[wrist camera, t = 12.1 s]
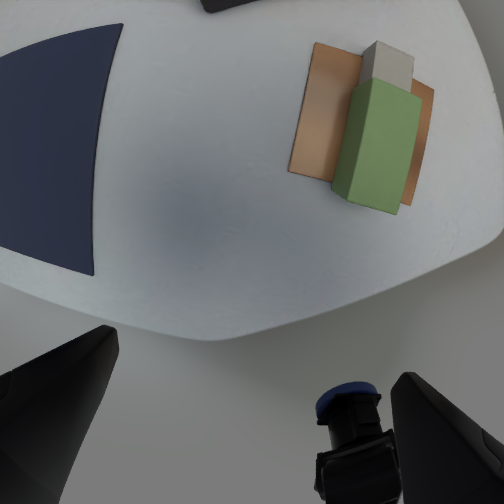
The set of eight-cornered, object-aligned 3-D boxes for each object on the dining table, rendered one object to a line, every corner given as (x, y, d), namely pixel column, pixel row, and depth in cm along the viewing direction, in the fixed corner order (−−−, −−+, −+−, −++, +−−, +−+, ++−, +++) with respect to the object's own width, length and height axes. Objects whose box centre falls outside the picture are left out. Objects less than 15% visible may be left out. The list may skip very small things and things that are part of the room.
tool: (374, 202, 17) (397, 215, 14) (330, 190, 17) (346, 201, 14) (401, 67, 13) (427, 55, 10) (359, 49, 13) (379, 32, 10)
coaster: (408, 204, 17) (410, 206, 17) (287, 171, 17) (288, 171, 16) (432, 90, 14) (434, 89, 13) (314, 43, 13) (315, 42, 13)
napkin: (94, 274, 20) (92, 276, 20) (-31, 232, 19) (-33, 233, 19) (123, 24, 13) (121, 22, 12) (-23, 69, 12) (-24, 69, 12)
